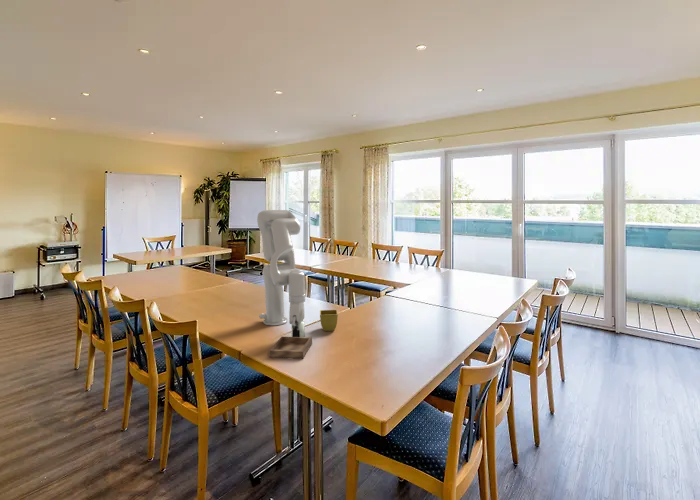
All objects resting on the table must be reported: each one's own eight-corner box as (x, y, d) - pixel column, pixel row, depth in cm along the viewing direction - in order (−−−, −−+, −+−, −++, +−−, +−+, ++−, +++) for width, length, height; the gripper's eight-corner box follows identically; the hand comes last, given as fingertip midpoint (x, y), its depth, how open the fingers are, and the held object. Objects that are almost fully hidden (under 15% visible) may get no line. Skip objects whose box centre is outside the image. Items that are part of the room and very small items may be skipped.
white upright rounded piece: (290, 340, 162) (289, 324, 161) (293, 336, 168) (293, 320, 167) (302, 341, 161) (302, 324, 161) (306, 336, 167) (305, 320, 166)
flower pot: (320, 327, 181) (319, 310, 180) (337, 326, 182) (336, 309, 181) (320, 332, 172) (319, 315, 171) (338, 332, 173) (337, 314, 172)
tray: (269, 357, 144) (269, 350, 143) (281, 343, 160) (281, 336, 159) (303, 359, 142) (302, 351, 142) (312, 344, 158) (311, 337, 158)
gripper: (294, 293, 172) (295, 329, 174) (283, 302, 155) (284, 342, 157) (309, 293, 171) (310, 329, 173) (300, 303, 154) (301, 343, 156)
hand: (298, 335), depth 165 cm, fingers closed on white upright rounded piece, 6 cm apart
